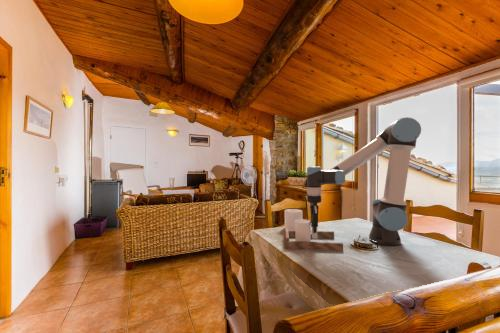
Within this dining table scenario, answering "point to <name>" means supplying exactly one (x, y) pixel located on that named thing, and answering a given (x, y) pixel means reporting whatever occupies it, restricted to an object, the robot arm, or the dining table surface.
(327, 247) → the brown rectangular tray
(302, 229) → the mug
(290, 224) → the cup
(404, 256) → the dining table surface
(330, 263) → the dining table surface
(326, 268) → the dining table surface
